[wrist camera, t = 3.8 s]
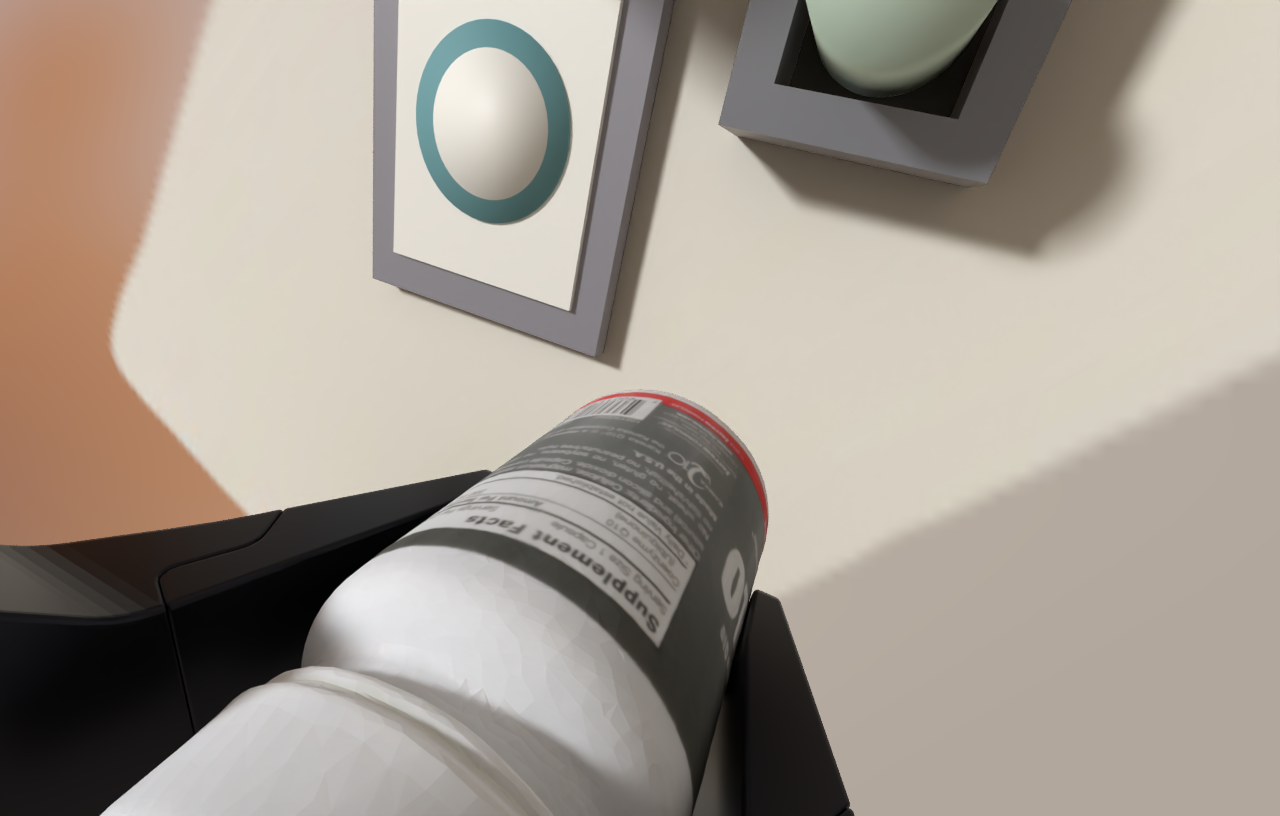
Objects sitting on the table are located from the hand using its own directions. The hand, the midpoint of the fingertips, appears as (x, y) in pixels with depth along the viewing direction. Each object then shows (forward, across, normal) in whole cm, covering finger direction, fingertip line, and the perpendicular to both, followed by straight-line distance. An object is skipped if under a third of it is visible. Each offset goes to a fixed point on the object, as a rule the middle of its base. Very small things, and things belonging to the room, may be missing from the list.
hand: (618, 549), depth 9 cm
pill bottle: (+2, 0, 0) cm, 2 cm away
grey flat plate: (+12, +11, -6) cm, 17 cm away
